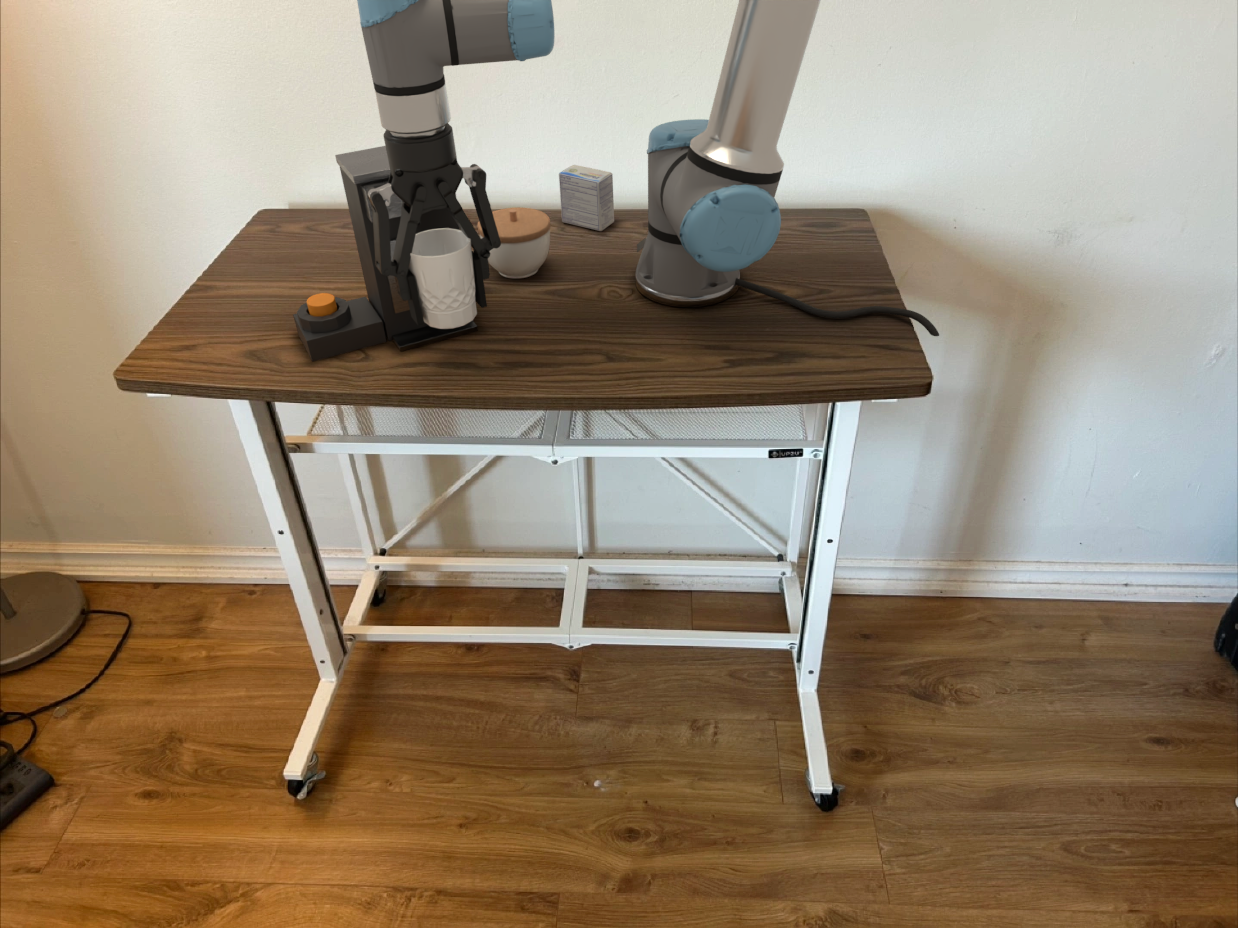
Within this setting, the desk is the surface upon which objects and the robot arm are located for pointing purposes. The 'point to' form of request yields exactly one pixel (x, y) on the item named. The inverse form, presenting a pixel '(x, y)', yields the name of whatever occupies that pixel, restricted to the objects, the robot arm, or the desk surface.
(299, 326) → the button base
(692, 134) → the robot arm
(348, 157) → the coffee machine
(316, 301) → the button
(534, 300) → the desk surface
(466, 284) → the white cup
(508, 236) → the trinket box
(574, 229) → the desk surface
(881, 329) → the desk surface
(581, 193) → the medicine box
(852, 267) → the desk surface
